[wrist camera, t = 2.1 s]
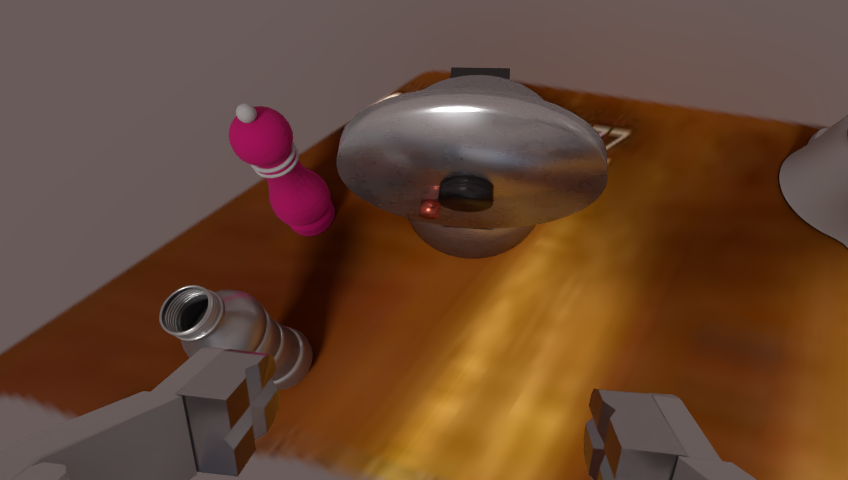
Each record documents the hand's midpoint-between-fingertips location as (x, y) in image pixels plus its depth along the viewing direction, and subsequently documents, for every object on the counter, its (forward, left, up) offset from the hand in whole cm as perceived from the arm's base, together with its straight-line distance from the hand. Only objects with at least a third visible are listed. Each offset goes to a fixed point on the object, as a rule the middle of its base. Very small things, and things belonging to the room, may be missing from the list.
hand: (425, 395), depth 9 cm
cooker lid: (0, -18, -16) cm, 24 cm away
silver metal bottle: (+19, -6, -38) cm, 43 cm away
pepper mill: (+21, -25, -38) cm, 50 cm away
